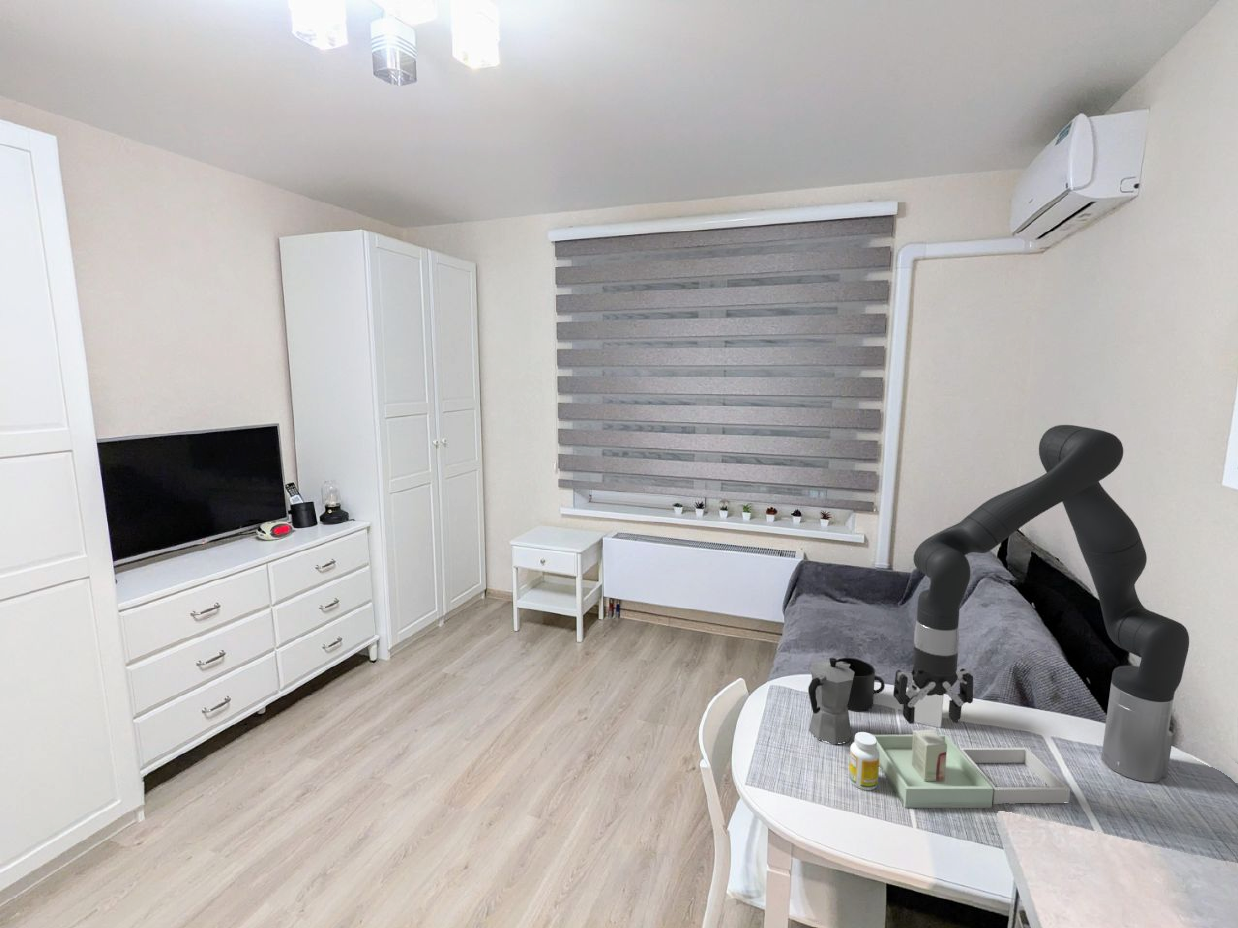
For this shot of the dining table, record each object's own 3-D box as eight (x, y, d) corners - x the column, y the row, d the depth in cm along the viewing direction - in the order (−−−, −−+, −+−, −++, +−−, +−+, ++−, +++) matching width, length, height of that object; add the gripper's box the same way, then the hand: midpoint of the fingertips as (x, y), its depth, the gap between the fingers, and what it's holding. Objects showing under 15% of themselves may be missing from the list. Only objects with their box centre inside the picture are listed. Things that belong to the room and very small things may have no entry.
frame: (1024, 760, 119) (1026, 747, 119) (1068, 803, 107) (1070, 789, 107) (957, 760, 119) (958, 747, 119) (993, 803, 107) (994, 789, 107)
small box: (945, 781, 112) (948, 744, 111) (923, 781, 112) (926, 745, 110) (930, 763, 117) (933, 728, 116) (910, 764, 117) (912, 729, 115)
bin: (944, 751, 122) (946, 734, 122) (991, 807, 106) (993, 788, 106) (869, 751, 123) (870, 734, 122) (904, 807, 107) (906, 788, 106)
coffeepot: (826, 711, 137) (830, 641, 134) (864, 730, 130) (868, 656, 127) (789, 738, 127) (791, 663, 125) (827, 759, 120) (830, 680, 117)
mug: (889, 714, 136) (891, 679, 134) (836, 709, 138) (837, 675, 136) (878, 692, 145) (880, 659, 143) (828, 688, 147) (830, 656, 145)
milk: (910, 708, 138) (916, 622, 135) (938, 714, 135) (945, 626, 132) (911, 722, 132) (917, 633, 129) (941, 728, 130) (948, 637, 127)
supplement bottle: (844, 782, 114) (846, 738, 112) (854, 768, 118) (856, 725, 116) (872, 795, 110) (874, 750, 109) (881, 780, 114) (884, 737, 112)
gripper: (962, 634, 114) (956, 709, 116) (889, 636, 114) (886, 710, 117) (985, 653, 106) (979, 732, 109) (907, 654, 106) (903, 733, 109)
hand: (931, 720), depth 113 cm, fingers open, 8 cm apart
